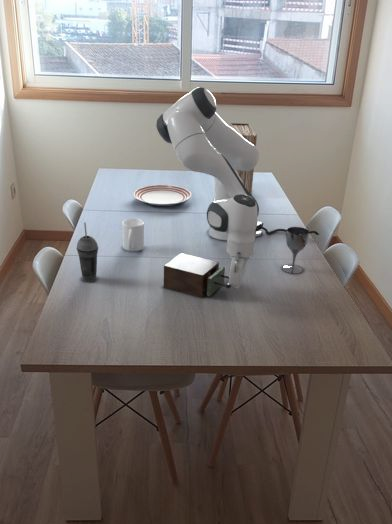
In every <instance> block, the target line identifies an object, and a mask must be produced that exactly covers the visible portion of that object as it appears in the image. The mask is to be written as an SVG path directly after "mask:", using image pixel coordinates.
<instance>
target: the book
mask: <svg viewBox="0 0 392 524" xmlns="http://www.w3.org/2000/svg"><path fill="white" fill-rule="evenodd" d="M229 126H230V127H231V128H232V129H234V130H235V131H236V132H237V133H239V134H240V135H241V136H242V137H243V138H245V139H246V140H247V141H248V142H250V143H251V144H253V145H254V146H255V147H256V148H257V138H258V134H257V133H256V132H255V130H254V129H253V127H252V126H251V124H249V123H235V122H233V123H229ZM254 171H255V167H254V168H253V169H252V170H250V171H240V170H237V172H238V175H239V176H240V178H241V180H242V182H243V185H244V186H245V188H246V189H247V190H248V192H249V193H250V194H251V195H252V192H253V181H254Z"/></svg>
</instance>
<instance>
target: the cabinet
mask: <svg viewBox="0 0 392 524" xmlns="http://www.w3.org/2000/svg"><path fill="white" fill-rule="evenodd" d="M216 266H217V270H218V269H219V268H220V261H217V260H212V259H208V258H204V257H201V256H195V255H191V254H188V253H182V252H181V253H179V254H178V255H176V256H174V258H172V259H171V260H169V261H168V262H167V263H166V264H164V265H163V288H164V289H168V290H172V291H176V292H180V293H183V294H187V295H191V296H195V297H198V298H203V297H205V295H207V291H206V292H204V293H203V286H204V276H206V275H207V274H208V273H209V272H210V271H211V270H213V269H214V268H215V267H216Z"/></svg>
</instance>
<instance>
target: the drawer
mask: <svg viewBox="0 0 392 524" xmlns="http://www.w3.org/2000/svg"><path fill="white" fill-rule="evenodd" d="M225 274H226V266H224V265H222V266H219V269H218V270H217V266H216V267H215V268H214V269H213V270H211V273H210V277H209V278H208V283H207V286H205V284H206V276H204V286H203V293H204V292H206V291H207V293H206V296H208V297H211V296H212V295H213V294H214V293H215V292H217V290H219V289H220V288H221V287H225V288H226V289H228V290H229V289H230V288H231V287H233V286H232V285H229V282H228V283H225V279H227V280H229V276H228V275H225Z"/></svg>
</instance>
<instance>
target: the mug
mask: <svg viewBox="0 0 392 524" xmlns="http://www.w3.org/2000/svg"><path fill="white" fill-rule="evenodd" d="M121 224H122V225H121V226H122V227H121V230H122V249H124V250H125V251H127V252H133V253H135V252H140V251H142V250H144V248H145V222H144V220H142V219H139V218H127V219H124V220H122V222H121Z"/></svg>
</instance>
